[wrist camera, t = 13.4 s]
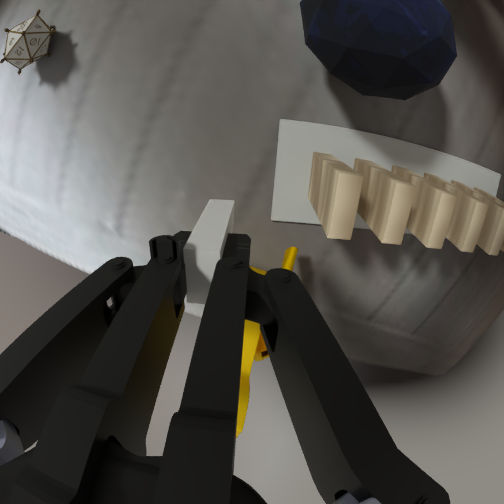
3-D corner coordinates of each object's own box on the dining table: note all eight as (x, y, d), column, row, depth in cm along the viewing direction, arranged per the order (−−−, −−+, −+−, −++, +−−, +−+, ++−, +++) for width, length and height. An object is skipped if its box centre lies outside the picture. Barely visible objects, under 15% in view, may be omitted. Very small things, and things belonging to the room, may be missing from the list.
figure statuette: (263, 335, 43) (261, 467, 24) (214, 323, 42) (190, 456, 23) (307, 238, 35) (350, 390, 15) (248, 220, 34) (230, 372, 15)
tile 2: (347, 201, 32) (381, 242, 22) (355, 157, 29) (396, 182, 19) (362, 203, 32) (400, 244, 22) (370, 160, 29) (416, 186, 19)
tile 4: (415, 211, 32) (461, 251, 22) (424, 172, 29) (476, 201, 20) (426, 213, 32) (472, 252, 22) (435, 175, 29) (488, 204, 20)
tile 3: (383, 206, 32) (426, 247, 22) (392, 164, 29) (442, 192, 20) (397, 208, 32) (441, 249, 22) (405, 167, 29) (457, 196, 20)
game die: (53, 43, 24) (12, 17, 14) (81, 23, 21) (36, -10, 12) (25, 89, 24) (-21, 66, 14) (48, 73, 21) (-7, 43, 11)
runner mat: (279, 118, 28) (280, 118, 28) (499, 173, 28) (500, 174, 28) (270, 218, 34) (270, 220, 33) (479, 242, 34) (481, 244, 33)
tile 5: (442, 216, 32) (488, 254, 22) (451, 179, 29) (503, 209, 20) (451, 218, 32) (497, 255, 22) (460, 182, 29) (512, 212, 20)
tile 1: (307, 196, 32) (327, 237, 22) (313, 151, 29) (339, 172, 19) (324, 198, 32) (350, 239, 22) (330, 154, 29) (363, 176, 19)
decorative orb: (310, -58, 13) (323, -63, 7) (438, -7, 14) (512, 42, 7) (287, 39, 26) (281, 101, 20) (399, 74, 27) (435, 151, 20)
